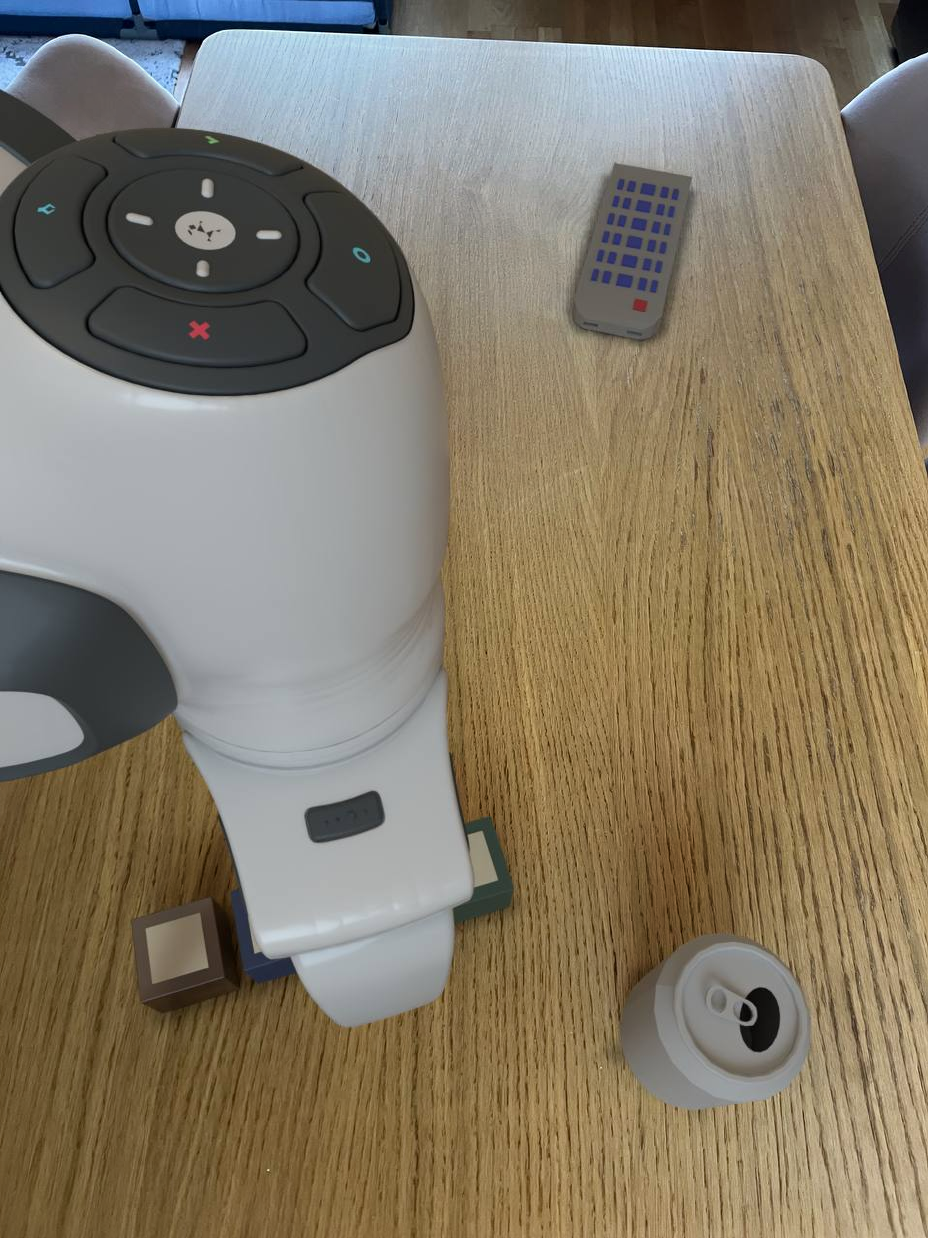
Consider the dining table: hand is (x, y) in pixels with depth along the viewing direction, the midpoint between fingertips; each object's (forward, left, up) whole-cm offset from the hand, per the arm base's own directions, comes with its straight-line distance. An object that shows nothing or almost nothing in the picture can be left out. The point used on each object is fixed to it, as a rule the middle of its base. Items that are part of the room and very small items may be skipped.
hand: (340, 800), depth 41 cm
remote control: (+38, +51, -17) cm, 66 cm away
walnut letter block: (-11, -1, -17) cm, 20 cm away
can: (+15, -13, -17) cm, 27 cm away
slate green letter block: (+6, -1, -17) cm, 18 cm away
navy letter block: (-5, -1, -17) cm, 18 cm away
